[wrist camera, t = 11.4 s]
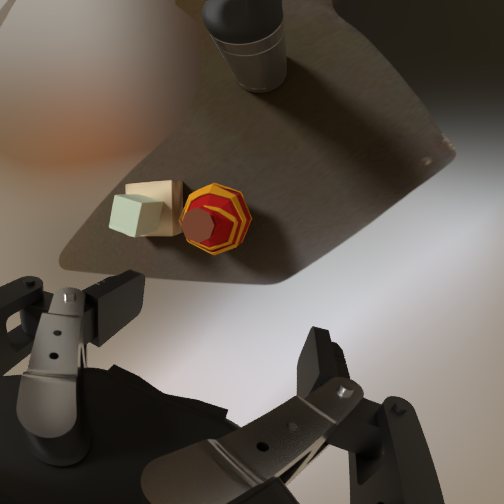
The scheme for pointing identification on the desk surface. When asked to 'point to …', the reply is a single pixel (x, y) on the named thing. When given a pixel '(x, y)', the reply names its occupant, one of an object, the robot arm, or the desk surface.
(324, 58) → the desk surface
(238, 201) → the potion bottle
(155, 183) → the beech base
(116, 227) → the green block
